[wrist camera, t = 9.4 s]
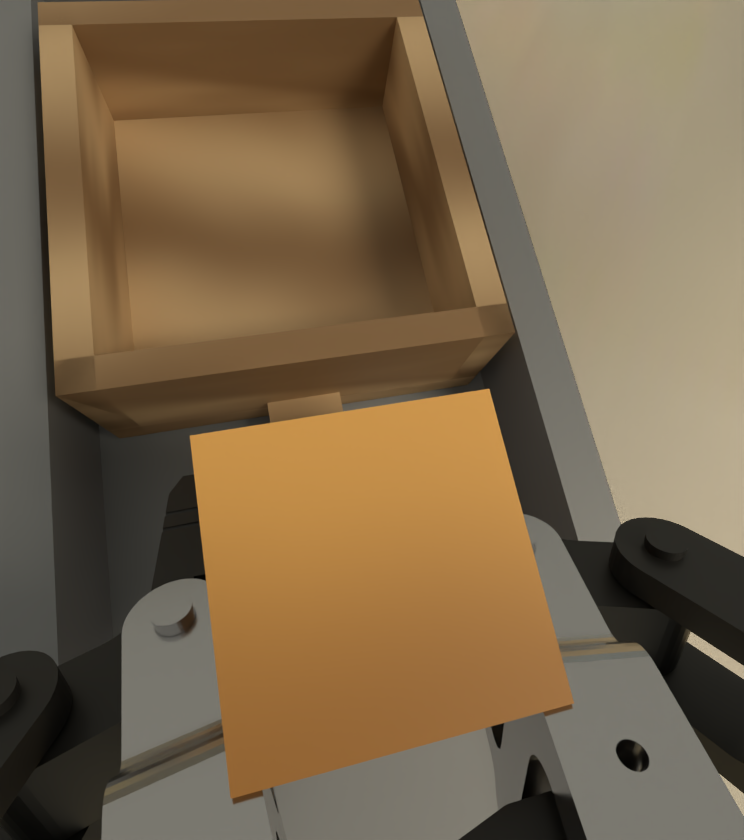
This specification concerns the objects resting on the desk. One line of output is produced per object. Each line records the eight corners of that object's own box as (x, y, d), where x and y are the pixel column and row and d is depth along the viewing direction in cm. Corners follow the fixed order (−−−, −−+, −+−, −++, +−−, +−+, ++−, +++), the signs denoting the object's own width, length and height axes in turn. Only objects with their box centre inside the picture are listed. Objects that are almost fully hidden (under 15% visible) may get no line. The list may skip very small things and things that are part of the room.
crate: (95, 122, 17) (-170, -426, 8) (395, 106, 19) (485, -355, 9) (137, 666, 13) (-335, 956, 3) (518, 579, 14) (905, 611, 5)
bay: (50, 67, 19) (-27, -81, 14) (413, 54, 21) (440, -77, 17) (103, 1108, 11) (-20, 1439, 7) (651, 908, 14) (808, 1067, 9)
